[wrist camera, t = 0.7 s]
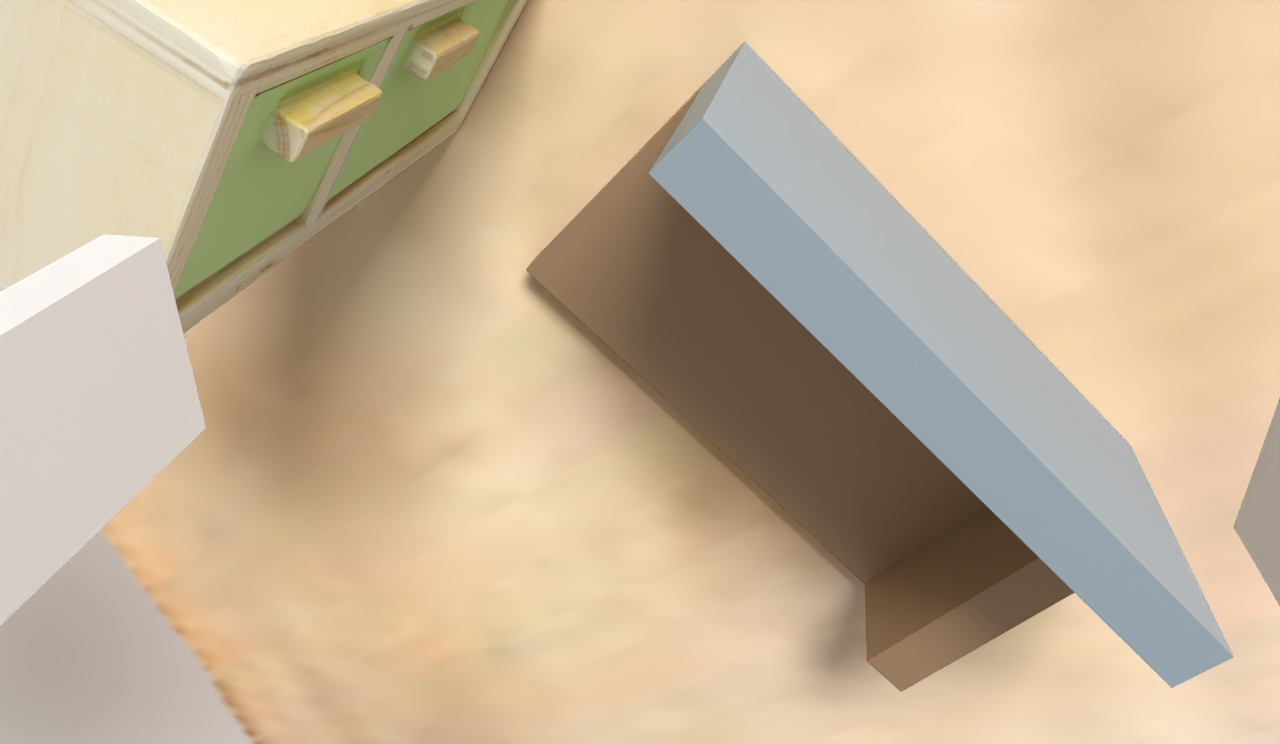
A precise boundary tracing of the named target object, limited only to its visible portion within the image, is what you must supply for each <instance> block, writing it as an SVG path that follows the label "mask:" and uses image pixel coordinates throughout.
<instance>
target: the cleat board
mask: <svg viewBox="0 0 1280 744" xmlns="http://www.w3.org/2000/svg"><path fill="white" fill-rule="evenodd" d="M526 271H527V272H529V273H530V274H531V275H532V276H533V277H534V278H535V279H536V280H537V281H538V282H539V283H540V284H542V285H543V286H544V287H545V288H546V289H547V290H548V291H549V292H550V293H551V294H552V295H553V296H554V297H556V298H557V299H558V300H559V301H560V302H561V303H562V304H563V305H564V306H565V307H566V308H567V309H569V310H570V311H571V312H572V313H573V314H574V315H575V316H576V317H577V318H578V319H579V320H580V321H581V322H583V323H584V324H585V325H586V326H587V327H588V328H589V329H590V330H591V331H592V332H593V333H594V334H596V335H597V336H598V337H599V338H600V339H601V340H602V341H603V342H604V343H605V344H606V345H607V346H608V347H610V348H611V349H612V350H613V351H614V352H615V353H616V354H617V355H618V356H619V357H620V358H621V359H623V360H624V361H625V362H626V363H627V364H628V365H629V366H630V367H631V368H632V369H633V370H634V371H635V372H637V373H638V374H639V375H640V376H641V377H642V378H643V379H644V380H645V381H646V382H647V383H648V384H650V385H651V386H652V387H653V388H654V389H655V390H656V391H657V392H658V393H659V394H660V395H661V396H662V397H664V398H665V399H666V400H667V401H668V402H669V403H670V404H671V405H672V406H673V407H674V408H675V409H677V410H678V411H679V412H680V413H681V414H682V415H683V416H684V417H685V418H686V419H687V420H688V421H689V422H691V423H692V424H693V425H694V426H695V427H696V428H697V429H698V430H699V431H700V432H701V433H702V434H704V435H705V436H706V437H707V438H708V439H709V440H710V441H711V442H712V443H713V444H714V445H715V446H717V447H718V448H719V449H720V450H721V451H722V452H723V453H724V454H725V455H726V456H727V457H728V458H729V459H731V460H732V461H733V462H734V463H735V464H736V465H737V466H738V467H739V468H740V469H741V470H742V471H744V472H745V473H746V474H747V475H748V476H749V477H750V478H751V479H752V480H753V481H754V482H755V483H756V484H758V485H759V486H760V487H761V488H762V489H763V490H764V491H765V492H766V493H767V494H768V495H769V496H771V497H772V498H773V499H774V500H775V501H776V502H777V503H778V504H779V505H780V506H781V507H782V508H783V509H785V510H786V511H787V512H788V513H789V514H790V515H791V516H792V517H793V518H794V519H795V520H796V521H798V522H799V523H800V524H801V525H802V526H803V527H804V528H805V529H806V530H807V531H808V532H809V533H810V534H812V535H813V536H814V537H815V538H816V539H817V540H818V541H819V542H820V543H821V544H822V545H823V546H825V547H826V548H827V549H828V550H829V551H830V552H831V553H832V554H833V555H834V556H835V557H836V558H837V559H839V560H840V561H841V562H842V563H843V564H844V565H845V566H846V567H847V568H848V569H849V570H850V571H852V572H853V573H854V574H855V575H856V576H857V577H858V578H859V579H860V580H861V581H862V582H863V583H864V584H865V604H866V640H867V662H868V663H870V664H871V665H872V666H873V667H874V668H875V669H876V670H877V671H878V672H880V673H881V674H882V675H883V676H884V677H885V678H886V679H887V680H888V681H889V682H891V683H892V684H893V685H894V686H895V687H896V688H897V689H898V690H899V691H903V690H905V689H907V688H908V687H910V686H912V685H914V684H915V683H917V682H919V681H921V680H922V679H924V678H926V677H928V676H929V675H931V674H933V673H935V672H936V671H938V670H940V669H942V668H943V667H945V666H947V665H949V664H950V663H952V662H954V661H956V660H957V659H959V658H961V657H963V656H964V655H966V654H968V653H970V652H971V651H973V650H975V649H977V648H978V647H980V646H982V645H984V644H985V643H987V642H989V641H991V640H992V639H994V638H996V637H997V636H999V635H1001V634H1003V633H1004V632H1006V631H1008V630H1010V629H1011V628H1013V627H1015V626H1017V625H1018V624H1020V623H1022V622H1024V621H1025V620H1027V619H1029V618H1031V617H1032V616H1034V615H1036V614H1038V613H1039V612H1041V611H1043V610H1045V609H1046V608H1048V607H1050V606H1052V605H1053V604H1055V603H1057V602H1059V601H1060V600H1062V599H1064V598H1066V597H1067V596H1069V595H1071V594H1073V593H1074V592H1075V593H1076V594H1077V595H1078V596H1079V597H1080V598H1081V599H1082V600H1083V601H1084V602H1085V603H1086V604H1087V605H1088V606H1089V607H1090V608H1091V609H1092V610H1093V611H1094V612H1095V613H1096V614H1097V615H1098V616H1099V617H1100V618H1101V619H1102V620H1103V621H1104V622H1105V623H1106V624H1107V625H1108V626H1109V627H1110V628H1111V629H1112V630H1113V631H1114V632H1115V633H1116V634H1117V635H1118V636H1120V637H1121V638H1122V639H1123V640H1124V641H1125V642H1126V643H1127V644H1128V645H1129V646H1130V647H1131V648H1132V649H1133V650H1134V651H1135V652H1136V653H1137V654H1138V655H1139V656H1140V657H1141V658H1142V659H1143V660H1144V661H1145V662H1146V663H1147V664H1148V665H1149V666H1150V667H1151V668H1152V669H1153V670H1154V671H1155V672H1156V673H1157V674H1158V675H1159V676H1160V677H1161V678H1162V679H1163V680H1164V681H1165V682H1166V683H1167V684H1168V685H1169V686H1170V687H1171V688H1173V687H1175V686H1177V685H1179V684H1181V683H1183V682H1185V681H1187V680H1189V679H1191V678H1193V677H1195V676H1197V675H1199V674H1201V673H1203V672H1205V671H1207V670H1209V669H1211V668H1213V667H1215V666H1217V665H1219V664H1221V663H1223V662H1225V661H1227V660H1229V659H1231V658H1233V657H1234V656H1233V654H1232V652H1231V650H1230V648H1229V646H1228V644H1227V642H1226V640H1225V638H1224V636H1223V634H1222V632H1221V630H1220V628H1219V626H1218V624H1217V621H1216V619H1215V617H1214V615H1213V613H1212V611H1211V609H1210V607H1209V605H1208V603H1207V601H1206V599H1205V597H1204V595H1203V593H1202V591H1201V589H1200V587H1199V585H1198V583H1197V581H1196V579H1195V576H1194V574H1193V572H1192V570H1191V568H1190V566H1189V564H1188V562H1187V560H1186V558H1185V556H1184V554H1183V552H1182V550H1181V548H1180V546H1179V544H1178V542H1177V540H1176V538H1175V536H1174V533H1173V531H1172V529H1171V527H1170V525H1169V523H1168V521H1167V519H1166V517H1165V515H1164V513H1163V511H1162V509H1161V507H1160V505H1159V503H1158V501H1157V499H1156V497H1155V495H1154V493H1153V491H1152V488H1151V486H1150V484H1149V482H1148V480H1147V478H1146V476H1145V474H1144V472H1143V470H1142V468H1141V466H1140V464H1139V462H1138V460H1137V458H1136V456H1135V454H1134V452H1133V450H1132V448H1131V446H1130V445H1129V444H1128V443H1127V441H1126V440H1125V439H1124V438H1123V437H1122V436H1121V435H1120V434H1119V433H1118V432H1117V431H1116V430H1115V429H1114V428H1113V427H1112V426H1111V425H1110V424H1109V423H1108V422H1107V421H1106V419H1105V418H1104V417H1103V416H1102V415H1101V414H1100V413H1099V412H1098V411H1097V410H1096V409H1095V408H1094V407H1093V406H1092V405H1091V404H1090V403H1089V402H1088V401H1087V400H1086V399H1085V397H1084V396H1083V395H1082V394H1081V393H1080V392H1079V391H1078V390H1077V389H1076V388H1075V387H1074V386H1073V385H1072V384H1071V383H1070V382H1069V381H1068V380H1067V379H1066V378H1065V377H1064V376H1063V374H1062V373H1061V372H1060V371H1059V370H1058V369H1057V368H1056V367H1055V366H1054V365H1053V364H1052V363H1051V362H1050V361H1049V360H1048V359H1047V358H1046V357H1045V356H1044V355H1043V354H1042V352H1041V351H1040V350H1039V349H1038V348H1037V347H1036V346H1035V345H1034V344H1033V343H1032V342H1031V341H1030V340H1029V339H1028V338H1027V337H1026V336H1025V335H1024V334H1023V333H1022V332H1021V330H1020V329H1019V328H1018V327H1017V326H1016V325H1015V324H1014V323H1013V322H1012V321H1011V320H1010V319H1009V318H1008V317H1007V316H1006V315H1005V314H1004V313H1003V312H1002V311H1001V310H1000V309H999V307H998V306H997V305H996V304H995V303H994V302H993V301H992V300H991V299H990V298H989V297H988V296H987V295H986V294H985V293H984V292H983V291H982V290H981V289H980V288H979V287H978V285H977V284H976V283H975V282H974V281H973V280H972V279H971V278H970V277H969V276H968V275H967V274H966V273H965V272H964V271H963V270H962V269H961V268H960V267H959V266H958V265H957V263H956V262H955V261H954V260H953V259H952V258H951V257H950V256H949V255H948V254H947V253H946V252H945V251H944V250H943V249H942V248H941V247H940V246H939V245H938V244H937V243H936V242H935V240H934V239H933V238H932V237H931V236H930V235H929V234H928V233H927V232H926V231H925V230H924V229H923V228H922V227H921V226H920V225H919V224H918V223H917V222H916V221H915V220H914V218H913V217H912V216H911V215H910V214H909V213H908V212H907V211H906V210H905V209H904V208H903V207H902V206H901V205H900V204H899V203H898V202H897V201H896V200H895V199H894V198H893V196H892V195H891V194H890V193H889V192H888V191H887V190H886V189H885V188H884V187H883V186H882V185H881V184H880V183H879V182H878V181H877V180H876V179H875V178H874V177H873V176H872V175H871V173H870V172H869V171H868V170H867V169H866V168H865V167H864V166H863V165H862V164H861V163H860V162H859V161H858V160H857V159H856V158H855V157H854V156H853V155H852V154H851V153H850V151H849V150H848V149H847V148H846V147H845V146H844V145H843V144H842V143H841V142H840V141H839V140H838V139H837V138H836V137H835V136H834V135H833V134H832V133H831V132H830V131H829V129H828V128H827V127H826V126H825V125H824V124H823V123H822V122H821V121H820V120H819V119H818V118H817V117H816V116H815V115H814V114H813V113H812V112H811V111H810V110H809V109H808V108H807V106H806V105H805V104H804V103H803V102H802V101H801V100H800V99H799V98H798V97H797V96H796V95H795V94H794V93H793V92H792V91H791V90H790V89H789V88H788V87H787V86H786V84H785V83H784V82H783V81H782V80H781V79H780V78H779V77H778V76H777V75H776V74H775V73H774V72H773V71H772V70H771V69H770V68H769V67H768V66H767V65H766V64H765V62H764V61H763V60H762V59H761V58H760V57H759V56H758V55H757V54H756V53H755V52H754V51H753V50H752V49H751V48H750V47H749V46H748V45H747V44H746V43H745V42H744V43H743V44H742V45H741V46H740V47H739V48H738V49H737V50H736V51H735V53H734V54H733V55H732V56H731V57H730V58H729V59H728V60H727V61H726V62H725V63H724V64H723V65H722V66H721V67H720V68H719V69H718V70H717V71H716V72H715V73H714V74H713V75H712V76H711V77H710V78H709V79H708V80H707V81H706V82H705V83H704V85H703V86H702V87H701V88H700V89H699V90H698V91H697V92H696V93H695V94H694V95H693V96H692V97H691V98H690V99H689V100H688V101H687V102H686V103H685V104H684V105H683V106H682V107H681V108H680V109H679V110H678V111H677V112H676V113H675V114H674V116H673V117H672V118H671V119H670V120H669V121H668V122H667V123H666V124H665V125H664V126H663V127H662V128H661V129H660V130H659V131H658V132H657V133H656V134H655V135H654V136H653V137H652V138H651V139H650V140H649V141H648V142H647V143H646V144H645V145H644V147H643V148H642V149H641V150H640V151H639V152H638V153H637V154H636V155H635V156H634V157H633V158H632V159H631V160H630V161H629V162H628V163H627V164H626V165H625V166H624V167H623V168H622V169H621V170H620V171H619V172H618V173H617V174H616V175H615V176H614V178H613V179H612V180H611V181H610V182H609V183H608V184H607V185H606V186H605V187H604V188H603V189H602V190H601V191H600V192H599V193H598V194H597V195H596V196H595V197H594V198H593V199H592V200H591V201H590V202H589V203H588V204H587V205H586V206H585V207H584V209H583V210H582V211H581V212H580V213H579V214H578V215H577V216H576V217H575V218H574V219H573V220H572V221H571V222H570V223H569V224H568V225H567V226H566V227H565V228H564V229H563V230H562V231H561V232H560V233H559V234H558V235H557V236H556V237H555V238H554V240H553V241H552V242H551V243H550V244H549V245H548V246H547V247H546V248H545V249H544V250H543V251H542V252H541V253H540V254H539V255H538V256H537V257H536V258H535V259H534V260H533V262H532V263H531V264H530V265H529V267H528V268H527V269H526Z"/></svg>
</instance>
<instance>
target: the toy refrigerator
mask: <svg viewBox="0 0 1280 744" xmlns="http://www.w3.org/2000/svg"><path fill="white" fill-rule="evenodd" d="M526 2H527V0H0V292H1V291H3V290H5V289H6V288H8V287H10V286H12V285H14V284H15V283H17V282H19V281H21V280H23V279H24V278H26V277H28V276H30V275H32V274H33V273H35V272H37V271H39V270H41V269H42V268H44V267H46V266H48V265H50V264H51V263H53V262H55V261H57V260H59V259H60V258H62V257H64V256H66V255H67V254H69V253H71V252H73V251H75V250H76V249H78V248H80V247H82V246H84V245H85V244H87V243H89V242H91V241H93V240H94V239H96V238H98V237H100V236H102V235H103V234H107V235H122V236H137V237H152V238H160V239H161V244H162V248H163V252H164V256H165V260H166V264H167V268H168V272H169V277H170V281H171V285H172V289H173V293H174V297H175V301H176V305H177V310H178V314H179V318H180V322H181V326H182V330H183V333H185V332H186V331H187V330H189V329H190V328H191V327H193V326H194V325H195V324H197V323H198V322H199V321H201V320H202V319H203V318H205V317H206V316H207V315H209V314H210V313H212V312H213V311H214V310H216V309H217V308H218V307H220V306H221V305H223V304H224V303H225V302H227V301H228V300H230V299H231V298H232V297H234V296H235V295H236V294H238V293H239V292H240V291H242V290H243V289H244V288H245V287H247V286H248V285H249V284H251V283H252V282H253V281H255V280H256V279H257V278H259V277H260V276H261V275H263V274H264V273H265V272H267V271H268V270H269V269H271V268H272V267H274V266H275V265H276V264H278V263H279V262H280V261H282V260H283V259H284V258H286V257H287V256H288V255H290V254H291V253H292V252H294V251H295V250H296V249H298V248H299V247H300V246H302V245H303V244H304V243H306V242H307V241H308V240H310V239H311V238H313V237H314V236H315V235H317V234H318V233H319V232H321V231H322V230H323V229H325V228H326V227H328V226H329V225H330V224H332V223H333V222H334V221H336V220H337V219H338V218H340V217H341V216H343V215H344V214H345V213H347V212H348V211H349V210H351V209H352V208H354V207H355V206H356V205H358V204H359V203H360V202H362V201H363V200H365V199H366V198H367V197H369V196H370V195H371V194H373V193H374V192H376V191H377V190H378V189H380V188H381V187H382V186H384V185H385V184H386V183H388V182H389V181H391V180H392V179H393V178H395V177H396V176H397V175H399V174H400V173H402V172H403V171H404V170H406V169H407V168H408V167H410V166H411V165H412V164H414V163H415V162H416V161H418V160H419V159H420V158H422V157H423V156H425V155H426V154H427V153H429V152H430V151H431V150H433V149H434V148H435V147H437V146H438V145H439V144H441V143H442V142H443V141H445V140H446V139H447V138H449V137H450V136H451V135H453V134H454V133H455V132H456V131H457V130H458V129H459V128H460V126H461V125H462V123H463V121H464V119H465V117H466V116H467V114H468V112H469V110H470V108H471V106H472V104H473V102H474V100H475V99H476V97H477V95H478V93H479V91H480V89H481V87H482V85H483V83H484V81H485V79H486V78H487V76H488V74H489V72H490V70H491V68H492V67H493V65H494V63H495V61H496V59H497V57H498V55H499V53H500V51H501V50H502V48H503V46H504V44H505V42H506V40H507V38H508V36H509V34H510V32H511V31H512V29H513V27H514V25H515V23H516V21H517V19H518V17H519V15H520V14H521V12H522V10H523V8H524V6H525V4H526Z"/></svg>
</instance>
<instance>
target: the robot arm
mask: <svg viewBox="0 0 1280 744" xmlns="http://www.w3.org/2000/svg"><path fill="white" fill-rule="evenodd" d="M204 429H206V425H205V421H204V417H203V413H202V409H201V405H200V400H199V396H198V392H197V388H196V384H195V380H194V376H193V372H192V367H191V363H190V359H189V355H188V351H187V347H186V343H185V338H184V334H183V330H182V326H181V322H180V318H179V314H178V310H177V305H176V301H175V297H174V293H173V289H172V285H171V281H170V277H169V272H168V268H167V264H166V260H165V256H164V252H163V248H162V244H161V239H160V238H152V237H137V236H122V235H107V234H103V235H102V236H100V237H98V238H96V239H94V240H93V241H91V242H89V243H87V244H85V245H84V246H82V247H80V248H78V249H76V250H75V251H73V252H71V253H69V254H67V255H66V256H64V257H62V258H60V259H59V260H57V261H55V262H53V263H51V264H50V265H48V266H46V267H44V268H42V269H41V270H39V271H37V272H35V273H33V274H32V275H30V276H28V277H26V278H24V279H23V280H21V281H19V282H17V283H15V284H14V285H12V286H10V287H8V288H6V289H5V290H3V291H1V292H0V626H1V625H2V624H3V623H4V622H5V621H6V620H7V619H8V618H9V617H10V616H11V615H12V614H13V613H14V612H15V611H16V610H17V609H18V608H19V607H20V606H21V605H22V604H23V603H24V602H25V601H26V600H28V599H29V598H30V597H31V596H32V595H33V594H34V593H35V592H36V591H37V590H38V589H39V588H40V587H41V586H42V585H43V584H44V583H45V582H46V581H47V580H48V579H49V578H50V577H51V576H53V575H54V574H55V573H56V572H57V571H58V570H59V569H60V568H61V567H62V566H63V565H64V564H65V563H66V562H67V561H68V560H69V559H70V558H71V557H72V556H73V555H74V554H75V553H76V552H77V551H79V550H80V549H81V548H82V547H83V546H84V545H85V544H86V543H87V542H88V541H89V540H90V539H91V538H92V537H93V536H94V535H95V534H96V533H97V532H98V531H99V530H100V529H101V528H103V527H104V526H105V525H106V524H107V523H108V522H109V521H110V520H111V519H112V518H113V517H114V516H115V515H116V514H117V513H118V512H119V511H120V510H121V509H122V508H123V507H124V506H125V505H126V504H127V503H129V502H130V501H131V500H132V499H133V498H134V497H135V496H136V495H137V494H138V493H139V492H140V491H141V490H142V489H143V488H144V487H145V486H146V485H147V484H148V483H149V482H150V481H151V480H152V479H153V478H155V477H156V476H157V475H158V474H159V473H160V472H161V471H162V470H163V469H164V468H165V467H166V466H167V465H168V464H169V463H170V462H171V461H172V460H173V459H174V458H175V457H176V456H177V455H178V454H180V453H181V452H182V451H183V450H184V449H185V448H186V447H187V446H188V445H189V444H190V443H191V442H192V441H193V440H194V439H195V438H196V437H197V436H198V435H199V434H200V433H201V432H202V431H203V430H204ZM1234 528H1235V530H1236V532H1237V533H1238V535H1239V537H1240V539H1241V540H1242V542H1243V544H1244V545H1245V547H1246V549H1247V551H1248V552H1249V554H1250V556H1251V557H1252V559H1253V561H1254V563H1255V564H1256V566H1257V568H1258V569H1259V571H1260V573H1261V575H1262V576H1263V578H1264V580H1265V581H1266V583H1267V585H1268V587H1269V588H1270V590H1271V592H1272V593H1273V595H1274V597H1275V599H1276V600H1277V602H1278V604H1279V605H1280V399H1279V402H1278V405H1277V407H1276V410H1275V413H1274V416H1273V418H1272V421H1271V424H1270V427H1269V430H1268V432H1267V435H1266V438H1265V441H1264V443H1263V446H1262V449H1261V452H1260V455H1259V457H1258V460H1257V463H1256V466H1255V468H1254V471H1253V474H1252V477H1251V480H1250V482H1249V485H1248V488H1247V491H1246V493H1245V496H1244V499H1243V502H1242V505H1241V507H1240V510H1239V513H1238V516H1237V518H1236V521H1235V524H1234Z"/></svg>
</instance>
